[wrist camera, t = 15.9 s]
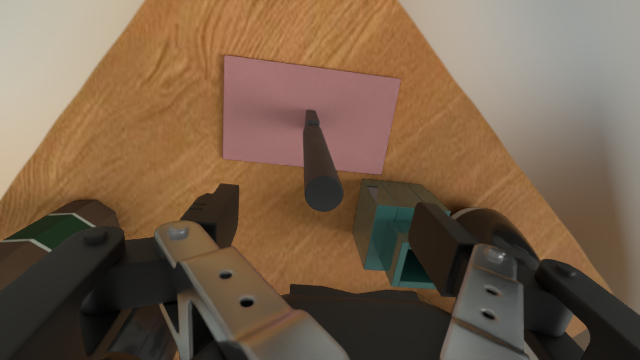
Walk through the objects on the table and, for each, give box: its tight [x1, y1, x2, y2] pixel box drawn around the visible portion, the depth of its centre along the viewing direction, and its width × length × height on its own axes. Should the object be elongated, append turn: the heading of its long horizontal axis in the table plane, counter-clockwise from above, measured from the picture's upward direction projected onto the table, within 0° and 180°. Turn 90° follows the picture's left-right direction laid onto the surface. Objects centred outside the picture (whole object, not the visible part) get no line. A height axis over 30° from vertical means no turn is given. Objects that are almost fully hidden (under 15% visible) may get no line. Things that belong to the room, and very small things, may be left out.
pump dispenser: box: [451, 207, 541, 270], centre depth 39 cm, size 10×10×15 cm
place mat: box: [223, 55, 401, 175], centre depth 39 cm, size 22×13×1 cm, turn 83°
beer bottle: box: [0, 200, 120, 291], centre depth 31 cm, size 8×8×24 cm
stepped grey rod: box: [303, 110, 343, 212], centre depth 27 cm, size 2×3×25 cm
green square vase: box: [352, 179, 450, 289], centre depth 38 cm, size 9×9×14 cm
